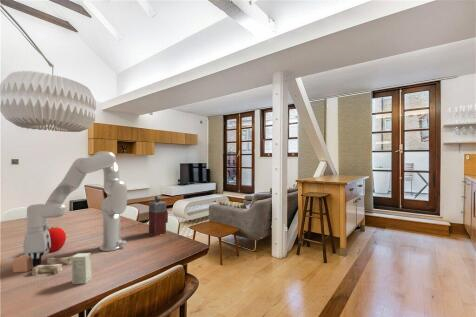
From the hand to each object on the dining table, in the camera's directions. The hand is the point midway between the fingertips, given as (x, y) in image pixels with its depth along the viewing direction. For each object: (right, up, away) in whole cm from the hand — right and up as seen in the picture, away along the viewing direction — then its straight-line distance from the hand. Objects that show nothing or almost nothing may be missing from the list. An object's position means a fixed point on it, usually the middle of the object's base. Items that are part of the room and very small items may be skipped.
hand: (37, 265), depth 118 cm
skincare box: (+30, -2, -12) cm, 33 cm away
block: (-6, -2, -1) cm, 6 cm away
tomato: (-10, -2, +23) cm, 25 cm away
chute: (+8, -2, +1) cm, 8 cm away
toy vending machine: (+43, -2, +55) cm, 70 cm away
